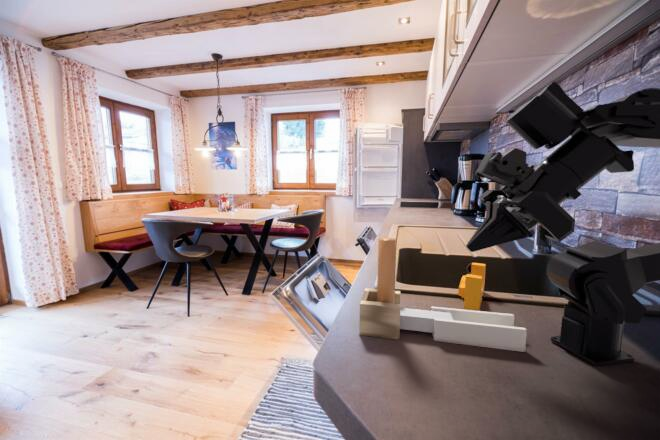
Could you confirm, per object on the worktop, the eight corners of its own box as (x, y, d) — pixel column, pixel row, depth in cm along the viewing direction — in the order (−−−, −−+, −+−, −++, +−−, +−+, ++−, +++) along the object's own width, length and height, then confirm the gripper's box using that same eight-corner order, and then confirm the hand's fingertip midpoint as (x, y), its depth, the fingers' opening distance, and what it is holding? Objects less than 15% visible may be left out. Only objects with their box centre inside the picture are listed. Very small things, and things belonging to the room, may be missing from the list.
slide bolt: (449, 325, 46) (454, 240, 45) (453, 335, 43) (458, 244, 42) (371, 317, 49) (372, 237, 48) (369, 325, 46) (371, 240, 45)
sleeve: (511, 333, 45) (512, 314, 45) (525, 351, 40) (526, 330, 40) (430, 324, 48) (431, 306, 48) (433, 340, 43) (434, 320, 43)
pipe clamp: (462, 289, 66) (463, 261, 65) (483, 292, 63) (485, 264, 63) (453, 307, 55) (455, 275, 55) (479, 312, 53) (481, 278, 52)
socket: (399, 318, 50) (400, 290, 50) (399, 339, 43) (400, 307, 43) (364, 315, 52) (365, 287, 51) (359, 334, 45) (359, 303, 44)
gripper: (496, 142, 49) (424, 206, 53) (552, 115, 31) (437, 215, 35) (545, 189, 48) (469, 251, 52) (633, 190, 30) (506, 285, 34)
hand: (468, 249), depth 43 cm, fingers closed
